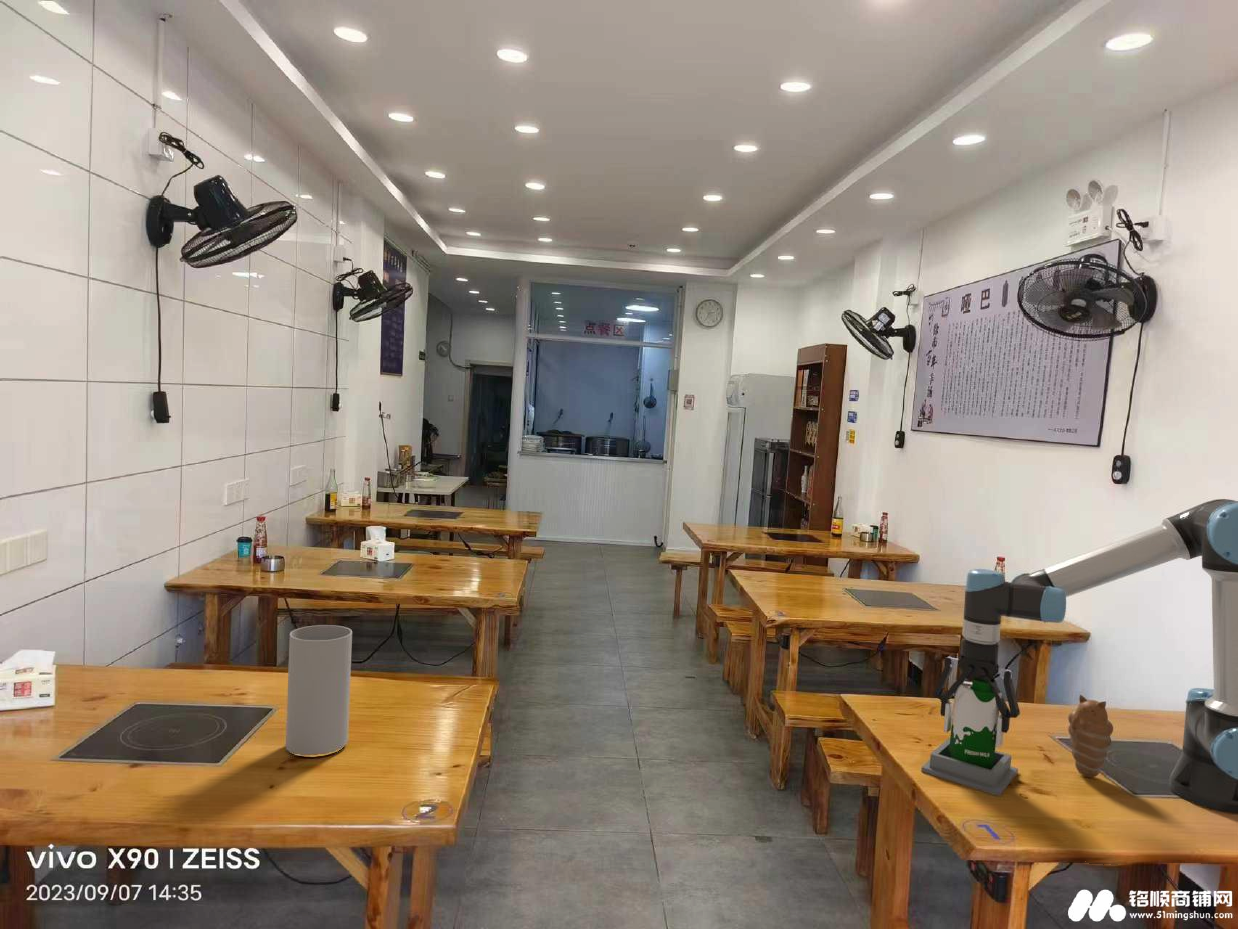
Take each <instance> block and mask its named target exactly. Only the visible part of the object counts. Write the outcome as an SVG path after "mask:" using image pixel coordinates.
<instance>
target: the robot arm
mask: <svg viewBox="0 0 1238 929" xmlns="http://www.w3.org/2000/svg"><path fill="white" fill-rule="evenodd" d="M1197 557H1201V568H1202V570H1203V571H1204V572H1205V573H1206V574H1208V575H1209V576H1210V578H1211V610H1212V611H1211V612H1212V614H1211V616H1212V617H1211V618H1212V622H1211V623H1212V661H1213V662H1212V666H1213V667H1212V669H1213V672H1212V673H1213V689H1212V688H1205V687H1204V688H1203V687H1193V688H1191V689H1189V691H1188V693H1187V698H1186V699H1185V715H1184V716H1185V717H1184V727H1183V728H1184V729H1183V739H1182V750H1181V755H1180V757H1179V759H1178V760H1177V761H1176V764H1175V765H1174V768H1173V770H1172V771H1171V773H1170V774H1169V780H1168V787H1169V789H1170V790H1171V791H1172V792H1173V793H1175V794H1176V795H1177V796H1179V797H1180V798H1182V799H1184V800H1186V801H1189V802H1191V803H1193V804H1196V805H1199V806H1200V807H1201V806H1202V807H1205V808H1208V809H1212V810H1215V811H1219V812H1222V813H1223V812H1224V813H1228V814H1229V813H1230V814H1235V815H1236V814H1237V815H1238V500H1234V499H1225V498H1221V499H1220V498H1217V499H1211V500H1209V501H1205V502H1203V503H1201V504H1198V505H1195V506H1194V507H1190V508H1188V509H1186V510H1184V511H1181V512H1179V513H1177V514H1174V515H1172V516H1169V517H1166V518H1164V519H1163V520H1162V522H1161V524H1160V525H1159V526H1156V527H1153V528H1151V529H1148V530H1145V531H1142V532H1139V533H1137V534H1135V535H1131V536H1129V537H1126V538H1124V539H1121V540H1118V541H1115V542H1113V543H1109V544H1107V545H1104V546H1102V547H1099V548H1096V549H1094V550H1091V551H1087V552H1086V553H1083V554H1080V555H1078V556H1074V557H1072V558H1069V559H1067V560H1063V561H1060V562H1058V563H1056V564H1053V565H1051V566H1050V565H1049V566H1048V567H1044V568H1043V569H1039V570H1037V571H1034V572H1031V573H1020V574H1017V575H1016V576H1014V578H1013V579H1012V580H1011V582H1009V581H1006V579H1005V574H1004V573H1003V572H1001V571H998V570H991V569H988V568H987V569H985V568H984V569H983V568H973V569H971V570H969V571H968V572H967V576H966V582H965V591H964V607H963V620H962V634H961V635H962V636H963V637H962V639H961V642H960V643H961V644H960V645H961V646H960V656H959V658H956V657H953V656H952V655H949V656H947V657H946V658H944V668H943V669H942V672H941V675H940V677H939V679H938V682H937V684H936V687H935V688H934V692H933V694H932V695H933V697H934V698H935V699H936V698H937V699H938V700H939V701H940V716H941V717H944V719H943V720H944V722H943V733H945V734H948V733H949V732H951V726H952V717H953V707H954V701H953V700H951V698H953V696H954V695H955V692H956V690H957V689H958V687H959V686H960V685H961V684H962V683H964V681H965V682H966V681H967V680H968V682H973V679H976V680H980V681H984V682H985V683H990V688H991V692H993V693H995V695H996V696H995V700H996V705H997V707H998V709H999V717H998V723H997V736H996V746H995V748H998V749H1000V748H1001V747H1002V746H1003V743H1004V734H1006V733H1008V732H1009V730H1010V721H1011V719H1016V718H1018V716H1019V715H1021V711H1020V706H1019V703H1018V702H1019V701H1018V699H1017V695H1016V694H1017V693H1016V691H1015V686H1014V681H1013V677H1014V676H1013V675H1014V670H1013V669H1011V668H1009V669H1006V668H1001V667H1000V666H999V663H998V660H999V650H1000V645H999V643H998V642H1000V637H1001V622H1002V617H1006V618H1015V619H1023V620H1031V621H1037V622H1043V623H1045V624H1046V623H1054V624H1055V623H1056V624H1058V623H1059V624H1060V623H1062V622H1063V621H1064V619H1065V617H1066V610H1067V598H1068V597H1071V596H1073V595H1076V594H1077V595H1078V594H1079V593H1082V592H1084V591H1087V590H1090V589H1094V588H1096V587H1099V586H1102V585H1105V584H1107V583H1110V582H1111V583H1112V582H1114V581H1117V580H1119V579H1123V578H1125V577H1128V576H1131V575H1134V574H1136V573H1140V572H1142V571H1143V572H1144V571H1145V570H1148V569H1151V568H1154V567H1156V566H1160V565H1162V564H1166V563H1168V562H1171V561H1174V560H1177V559H1184V560H1186V561H1189V560H1192V559H1194V558H1197ZM957 665H958V666H959V668H960V670H961V671H962V672H961V673H960V675H959V676H958V677H957V679H956V681H954V682H953V683H952V684H951V686H950V687H949V689H948V690H947V691H946V692H945V693H943V692H944V690H945V687H946V685H947V683H948V681H949V678H950V676H951V673H952V671H953V669H954V668H955V667H956V666H957ZM997 674H999V675H1000V678H1001V680H1003V686H1004V691H1005V694H1006V699H1007V703H1008V705H1007V703H1006V700H1005V698H1004V696H1003V695H1002V699H1001V698H1000V697H999V695H998V693H1001V694H1002V692H1001V690H1000V689H999V687H998V683H997V680H996V679H995V677H996V675H997ZM991 681H992V682H993V683H992V682H991Z"/></svg>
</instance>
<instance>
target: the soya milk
mask: <svg viewBox="0 0 1238 929" xmlns="http://www.w3.org/2000/svg"><path fill="white" fill-rule="evenodd" d="M956 680H957V679H956ZM956 680H955V681H956ZM955 681H954V682H955ZM991 682H992V681H991ZM992 683H993V682H992ZM998 695H999V697H1000V698H1001V699H1002V696H1003V694H1002V692H1001V693H998ZM995 696H996V695H995V693H993V692H991V688H990V683H985V682H984V681H980V680H976V679H973V681H966V680H965V681H964V683H962V684H961V685H960V686H959V687H958V689H957V690H956V692H955V693H954V699H953V707H952V720H951V730H950V737H949V738H950V748H949V758H953V759H956V760H959V761H962V762H966V763H969V764H972V765H976V766H979V767H982V768H986V769H989V770H992V768H993V762H994V755H995V751H996V736H997V723H998V717H999V716H1000V711H999V709H998V707H997V705H996V700H995Z"/></svg>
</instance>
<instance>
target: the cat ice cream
mask: <svg viewBox="0 0 1238 929" xmlns="http://www.w3.org/2000/svg"><path fill="white" fill-rule="evenodd" d="M1078 699H1079V704H1078V706H1077V708H1076V709H1075V710H1072V711H1071V712H1069V715H1068V717H1067V720H1068V723H1069V725H1068V728H1067V730H1068V734H1069V735H1070V737H1069V744H1070V746H1071V754H1072V757H1073V758H1074V761H1075V762H1074V765H1075V768H1076V770H1077V771H1078V773H1079V774H1080V775H1081V776H1083V777H1087V778H1095V777H1097V776H1098V775H1099V774H1100V772H1101V769H1102V767H1103V766H1104V764H1105V759H1106V757H1108V756H1107V755H1108V749H1109V748H1110V746H1111V745H1112V738H1111V736H1112V734H1113V732H1114V725H1113V724H1112V722H1111V721H1110V720H1109V716H1108V712H1107V709H1106V707H1107V701H1097V700H1094V699H1087V698H1085V696H1083V695H1082V694H1079V698H1078Z"/></svg>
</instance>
